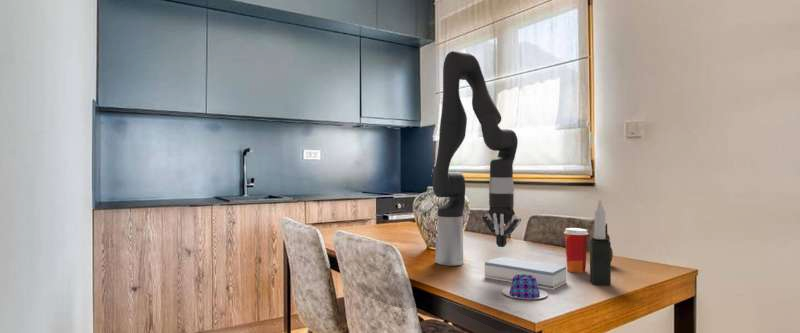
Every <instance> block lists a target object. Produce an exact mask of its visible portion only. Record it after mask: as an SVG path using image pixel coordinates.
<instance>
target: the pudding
mask: <svg viewBox="0 0 800 333" xmlns="http://www.w3.org/2000/svg"><path fill="white" fill-rule="evenodd" d="M501 291H502V294H503V295H506V296H507V297H510V298H514V299H517V298H518V297H519V298H518V299H520V300H523V299H527V300H541V299H544V298H546V297H548V292H546V291H545V290H542V289H540V288H539V287H538V285H537V281H536V278H535V277H534V276H531V275H526V274H518V275H515V276H514V277H513V280H512V282H511V285H510V287H505V288H504V289H502V290H501ZM508 293H509V294H510V295H512V296H510V295H509V294H508ZM514 296H517V297H514Z"/></svg>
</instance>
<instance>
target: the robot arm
mask: <svg viewBox="0 0 800 333" xmlns="http://www.w3.org/2000/svg"><path fill="white" fill-rule="evenodd" d="M442 67H443V68H442V78H443V79H442V102H441V104H442V105H441V117H440V122H439V123H440V124H439V135H438V136H439V139H438V147H437V156H436V162H435V167H434V172H433V176H432V190H433V194H434V196H435V197H437V198H448V201H447V202H446V203H445V204H444V205H441V206H439V207H438V209H437V235H436V236H435V239H434V240H435V241H434V243H435V250H434V251H435V257H434V258H435V263H436V264H438V265H442V266H451V267H452V266H454V267H455V266H461V265H463V264H464V210H465V202H466V180H465V177H464V174H463V173H462V172H461V171H450V170H449V169H450V165H451V161H452V159H453V157H454V156H455V154H456V152H457V151H458V150H459V148H460V147H461V145H462V144H463V142H464V140H465V138H466V133H467V123H468V122H467V121H468V117H467V112H466V111H465V107H464V104H463V103H462V100H461V96H460V80H461V81H462V80H463V81H465V82H467V83H468V85H469V87H470V89H471V91H472V93H471V94H472V95H471V96H472V97H471V106H472V110H473V112H474V115H475V117H476V119H477V120H478V122H479V124H480V128H481V132H482V133H481V134H482V138H483V142H484V144H485V145H486V147H487V148H488V149H489V150H491V151H493V152H495V151H496V152H497V151H498V154H497V157H496V158H493V159H491V161H490V162H489V184H488V187H489V189H488V190H489V192H488V199H489V200H488V204H489V209H488V213H487V214H485V215H482V220H483V222H484V223H485V225H486V226H487V228H488V230H490V232H491V233H494V234H495V240H496V241H495V243H496V245H497V247H498V248H504V247H506V245H507V237H508V236H507V235H509V234H513V232H514V231H515V230H516V229H517V227H518V225H519V224H520V223H521V222H522V219H521V218H520V217H517V215H516V213H515V211H514V207H515V206H514V204H515V203H514V202H515V201H514V200H515V199H514V196H515V194H514V193H515V189H514V188H515V187H514V179H513V178H514V169H513V167H514V166H513V165H514V161H515V157H516V153H517V149H518V136H517V134H516V132H515V130H513V129H510V128H500V127H499V124H500V123H501V121H502V115H501V113H500V111H499V109H498V107H497V106H496V104H495V102H494V100H493V98H492V96H491V94H490V92H489V90H488V87H487V83H486V80H485V78H484V75H483V70H482V68H481V65H480V63H479V60H478V59H477V57H476V56H475V55H474V54H472V53H469V52H463V51H457V50H456V51H455V50H452V51H449V52H448V53H447V54H446V56H445V59H444V61H443V65H442ZM510 222H511V223H510Z"/></svg>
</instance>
